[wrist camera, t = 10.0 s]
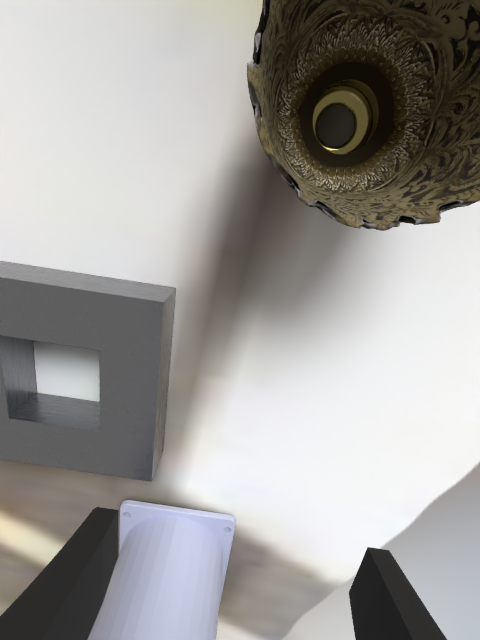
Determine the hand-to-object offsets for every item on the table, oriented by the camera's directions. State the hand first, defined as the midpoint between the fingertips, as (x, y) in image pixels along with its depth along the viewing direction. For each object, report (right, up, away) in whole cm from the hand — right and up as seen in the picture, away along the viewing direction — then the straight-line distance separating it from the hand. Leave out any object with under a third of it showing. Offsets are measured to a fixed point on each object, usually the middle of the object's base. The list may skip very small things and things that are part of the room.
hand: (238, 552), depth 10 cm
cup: (+4, +15, +5) cm, 17 cm away
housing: (-10, +4, +10) cm, 14 cm away
